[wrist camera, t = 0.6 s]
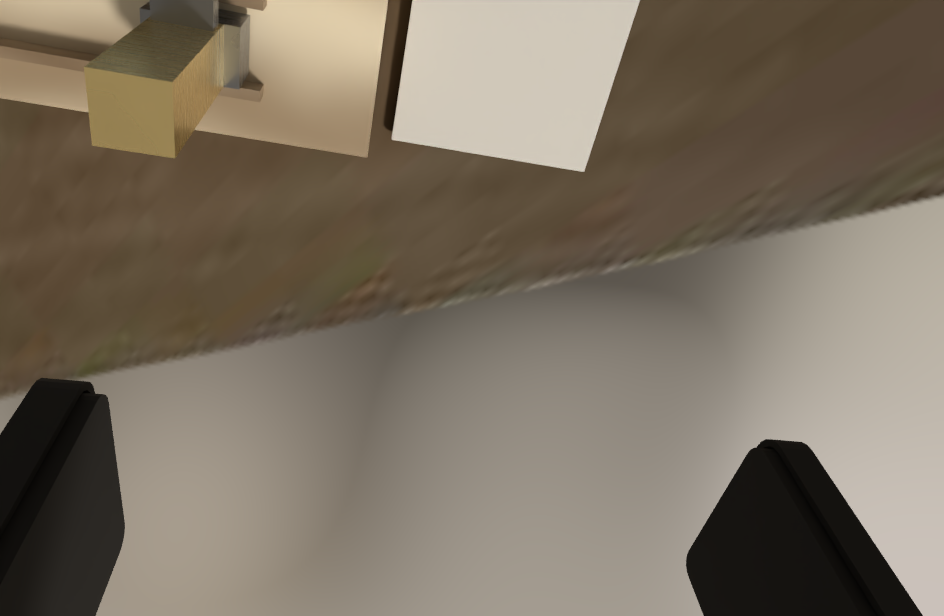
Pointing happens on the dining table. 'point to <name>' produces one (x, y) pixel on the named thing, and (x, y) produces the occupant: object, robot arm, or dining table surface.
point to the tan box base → (233, 111)
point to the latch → (165, 75)
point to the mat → (511, 76)
